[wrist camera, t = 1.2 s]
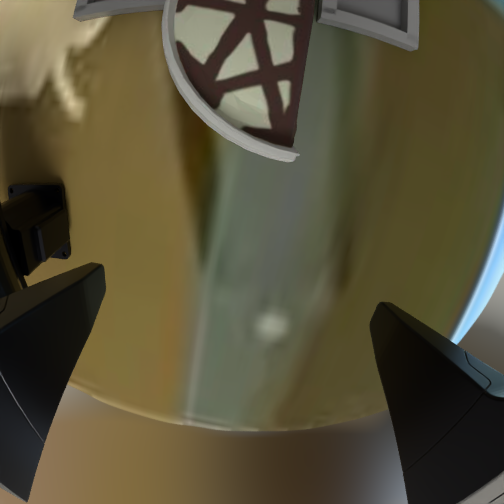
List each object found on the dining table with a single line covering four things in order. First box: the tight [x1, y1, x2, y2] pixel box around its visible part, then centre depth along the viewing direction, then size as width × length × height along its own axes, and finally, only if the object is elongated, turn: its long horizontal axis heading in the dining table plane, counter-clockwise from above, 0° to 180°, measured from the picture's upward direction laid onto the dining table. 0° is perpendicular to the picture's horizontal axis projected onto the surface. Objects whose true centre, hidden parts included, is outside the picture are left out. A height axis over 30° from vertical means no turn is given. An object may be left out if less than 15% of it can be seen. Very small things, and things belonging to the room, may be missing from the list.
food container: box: [162, 0, 315, 162], centre depth 12 cm, size 12×6×10 cm, turn 172°
